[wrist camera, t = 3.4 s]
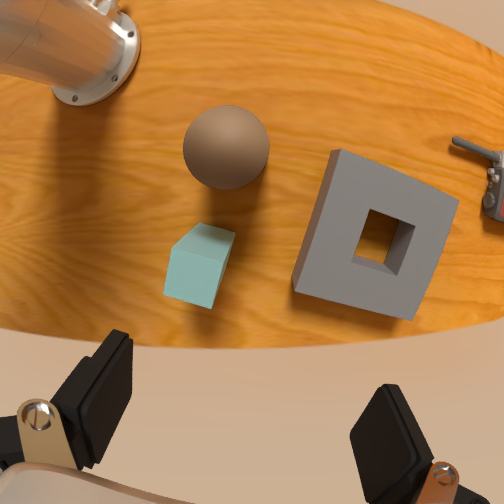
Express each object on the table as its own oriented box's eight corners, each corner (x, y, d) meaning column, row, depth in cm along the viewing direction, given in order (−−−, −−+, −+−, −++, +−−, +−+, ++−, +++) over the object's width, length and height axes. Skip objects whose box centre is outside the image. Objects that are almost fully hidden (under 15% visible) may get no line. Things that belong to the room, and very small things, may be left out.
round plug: (217, 117, 29) (196, 97, 19) (274, 132, 29) (279, 117, 20) (201, 173, 31) (173, 178, 21) (258, 188, 31) (255, 199, 21)
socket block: (331, 150, 29) (341, 148, 26) (440, 195, 30) (459, 200, 26) (291, 276, 33) (294, 291, 29) (398, 305, 34) (411, 321, 30)
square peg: (199, 222, 32) (172, 247, 22) (235, 232, 32) (223, 262, 23) (190, 257, 33) (162, 294, 24) (226, 267, 33) (211, 309, 24)
